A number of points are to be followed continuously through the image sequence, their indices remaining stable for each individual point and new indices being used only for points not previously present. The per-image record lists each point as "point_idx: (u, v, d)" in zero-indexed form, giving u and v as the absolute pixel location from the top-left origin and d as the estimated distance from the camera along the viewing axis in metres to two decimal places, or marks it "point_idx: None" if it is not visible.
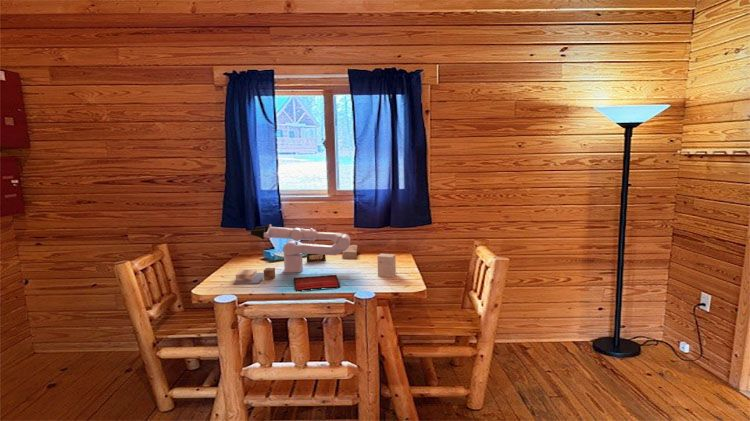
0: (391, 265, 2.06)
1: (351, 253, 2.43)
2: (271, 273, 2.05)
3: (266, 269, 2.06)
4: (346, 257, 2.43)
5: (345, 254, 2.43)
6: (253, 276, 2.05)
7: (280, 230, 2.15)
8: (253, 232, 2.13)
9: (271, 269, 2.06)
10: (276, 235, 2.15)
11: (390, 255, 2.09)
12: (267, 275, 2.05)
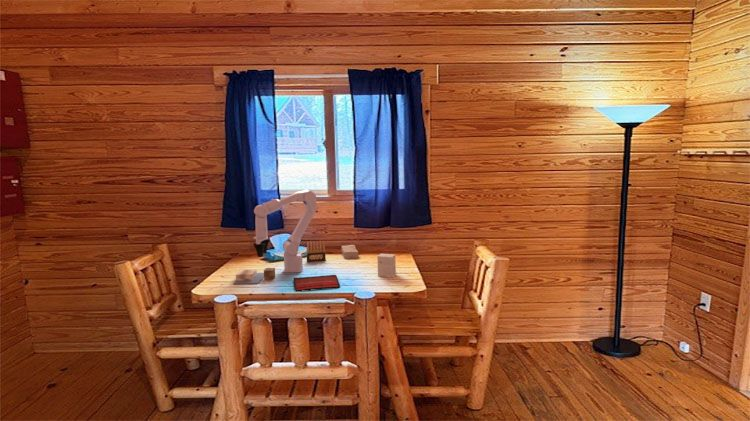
0: (391, 265, 2.06)
1: (353, 253, 2.43)
2: (271, 273, 2.05)
3: (266, 269, 2.06)
4: (349, 257, 2.43)
5: (347, 254, 2.42)
6: (253, 276, 2.05)
7: (258, 227, 2.08)
8: (259, 254, 2.08)
9: (271, 269, 2.06)
10: (261, 231, 2.08)
11: (390, 255, 2.09)
12: (267, 275, 2.05)
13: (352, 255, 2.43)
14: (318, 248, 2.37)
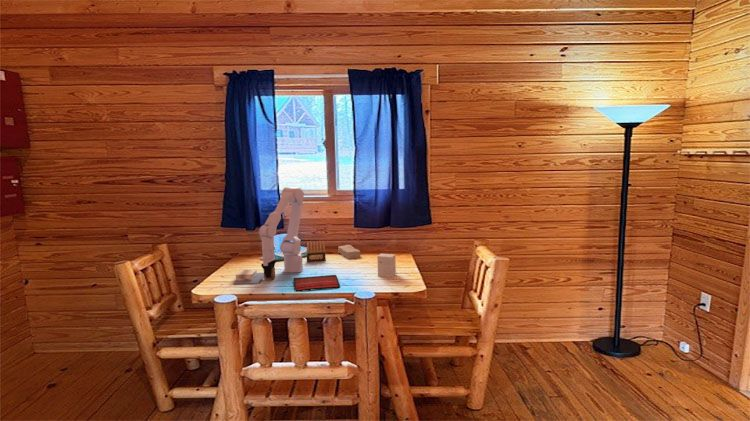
0: (391, 265, 2.06)
1: (356, 252, 2.44)
2: (271, 273, 2.05)
3: None
4: (352, 257, 2.43)
5: (351, 254, 2.42)
6: (253, 276, 2.05)
7: (268, 248, 2.03)
8: (267, 275, 2.04)
9: None
10: (268, 252, 2.03)
11: (390, 255, 2.09)
12: None
13: (355, 255, 2.44)
14: (318, 248, 2.37)
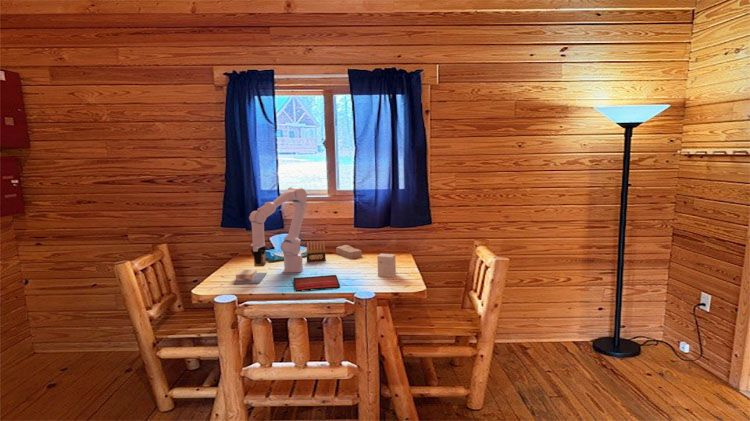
0: (391, 265, 2.06)
1: (358, 252, 2.45)
2: (261, 259, 2.04)
3: None
4: (354, 257, 2.43)
5: (353, 254, 2.43)
6: (253, 276, 2.05)
7: (257, 234, 2.01)
8: (257, 261, 2.03)
9: None
10: (259, 238, 2.02)
11: (390, 255, 2.09)
12: None
13: (357, 254, 2.44)
14: (318, 248, 2.37)
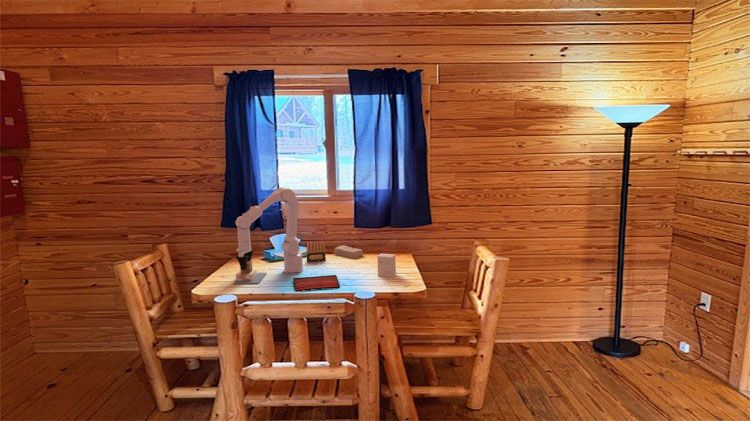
0: (391, 265, 2.06)
1: (360, 251, 2.46)
2: (248, 266, 2.04)
3: None
4: (357, 256, 2.44)
5: (356, 254, 2.43)
6: (253, 276, 2.05)
7: (241, 239, 2.01)
8: (242, 267, 2.02)
9: (248, 262, 2.06)
10: (244, 243, 2.02)
11: (390, 255, 2.09)
12: None
13: (359, 254, 2.46)
14: (318, 248, 2.37)
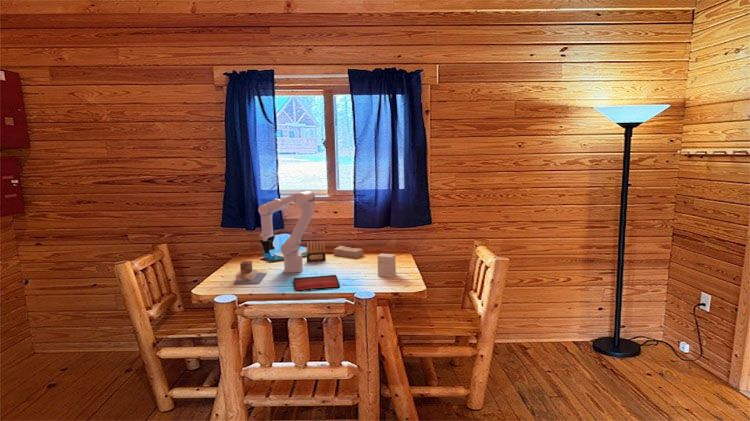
0: (391, 265, 2.06)
1: (361, 251, 2.47)
2: (248, 266, 2.04)
3: (243, 262, 2.06)
4: (359, 256, 2.45)
5: (358, 253, 2.44)
6: (253, 276, 2.05)
7: (261, 225, 2.21)
8: (266, 250, 2.20)
9: (248, 262, 2.06)
10: (267, 228, 2.20)
11: (390, 255, 2.09)
12: (244, 268, 2.04)
13: (360, 253, 2.47)
14: (318, 248, 2.37)
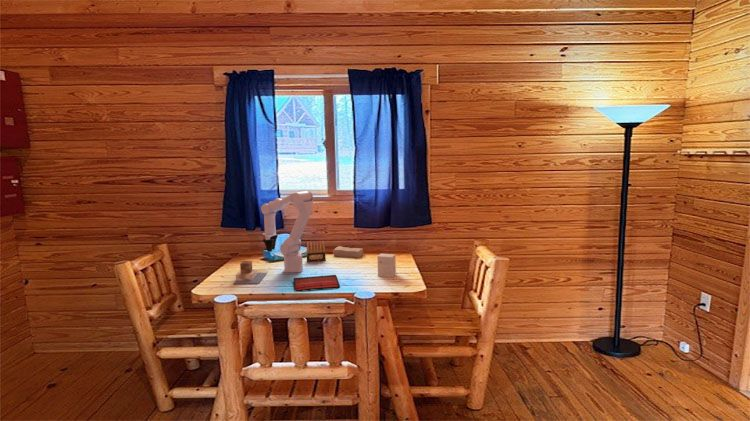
0: (391, 265, 2.06)
1: (361, 250, 2.49)
2: (248, 266, 2.04)
3: (243, 262, 2.06)
4: (360, 255, 2.46)
5: (360, 253, 2.45)
6: (253, 276, 2.05)
7: (264, 223, 2.24)
8: (268, 249, 2.22)
9: (248, 262, 2.06)
10: (270, 227, 2.22)
11: (390, 255, 2.09)
12: (244, 268, 2.04)
13: (361, 253, 2.48)
14: (318, 248, 2.37)
